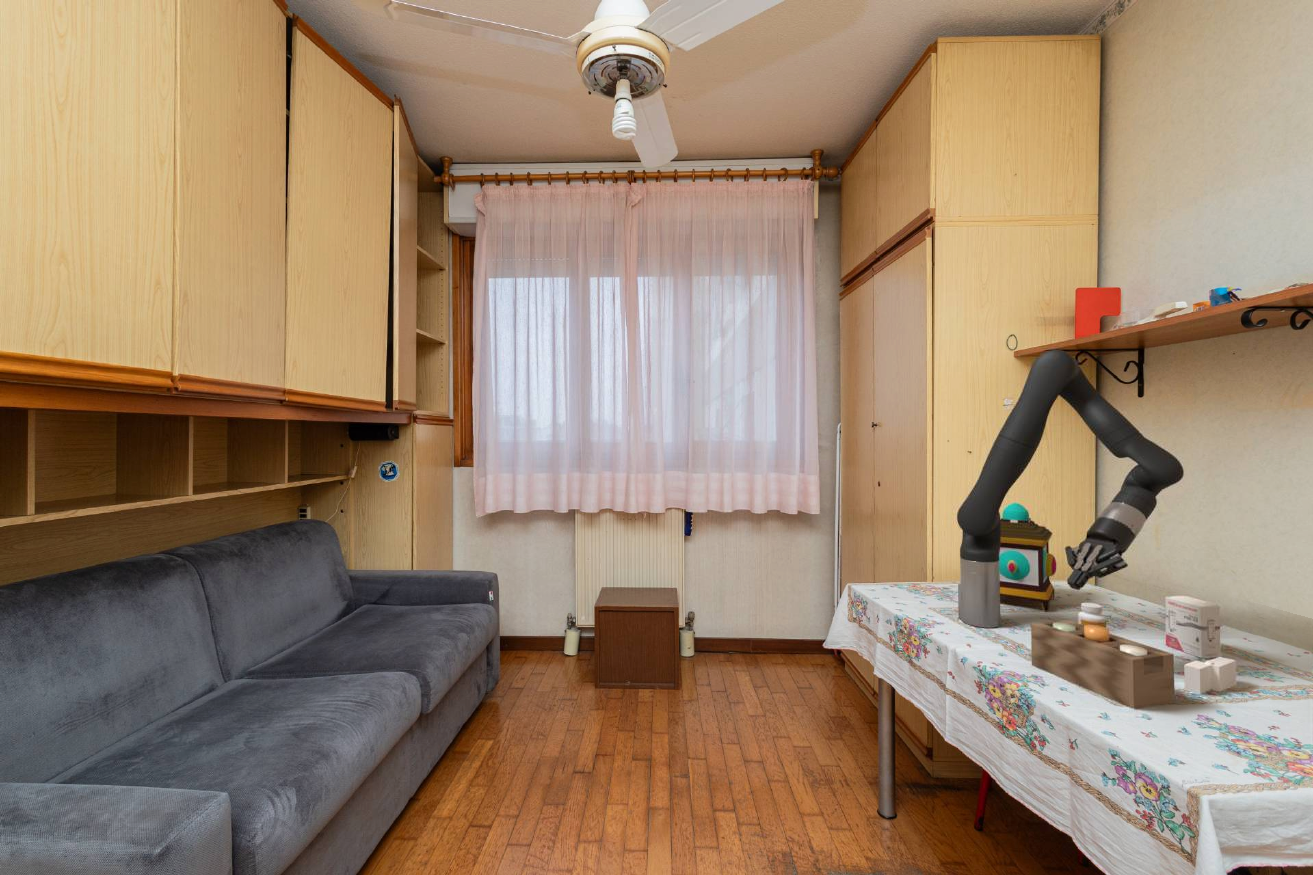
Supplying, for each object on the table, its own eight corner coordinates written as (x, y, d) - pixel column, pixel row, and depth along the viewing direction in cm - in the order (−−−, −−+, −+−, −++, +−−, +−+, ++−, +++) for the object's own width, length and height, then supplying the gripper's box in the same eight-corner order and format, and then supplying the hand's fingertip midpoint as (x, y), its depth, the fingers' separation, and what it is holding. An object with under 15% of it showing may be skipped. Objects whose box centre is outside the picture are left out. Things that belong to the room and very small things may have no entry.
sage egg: (1048, 637, 122) (1048, 623, 122) (1063, 635, 123) (1062, 621, 123) (1065, 643, 118) (1065, 629, 118) (1080, 641, 119) (1080, 627, 119)
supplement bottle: (1112, 650, 131) (1111, 608, 131) (1086, 648, 132) (1085, 607, 132) (1098, 642, 136) (1098, 602, 136) (1073, 640, 137) (1073, 601, 137)
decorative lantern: (973, 602, 170) (971, 503, 171) (986, 588, 186) (984, 498, 186) (1053, 614, 157) (1051, 508, 158) (1060, 599, 173) (1058, 501, 173)
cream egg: (1114, 661, 109) (1114, 645, 109) (1130, 659, 110) (1130, 643, 110) (1136, 669, 105) (1136, 653, 105) (1153, 666, 106) (1152, 651, 106)
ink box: (1164, 645, 134) (1162, 595, 134) (1182, 644, 134) (1181, 594, 134) (1202, 658, 125) (1201, 605, 125) (1222, 657, 125) (1221, 605, 125)
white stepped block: (1229, 680, 115) (1229, 652, 115) (1276, 705, 104) (1276, 674, 104) (1144, 674, 119) (1143, 646, 119) (1180, 698, 108) (1180, 668, 108)
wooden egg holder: (1031, 664, 123) (1030, 623, 123) (1067, 660, 125) (1067, 619, 125) (1133, 708, 102) (1132, 659, 103) (1174, 702, 105) (1173, 654, 105)
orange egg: (1079, 640, 115) (1079, 625, 115) (1094, 638, 116) (1094, 623, 116) (1099, 647, 111) (1098, 632, 112) (1114, 645, 112) (1114, 630, 112)
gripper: (1077, 512, 130) (1035, 568, 127) (1138, 520, 117) (1093, 582, 114) (1096, 534, 131) (1054, 590, 128) (1158, 544, 118) (1113, 606, 116)
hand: (1072, 586), depth 121 cm, fingers closed
